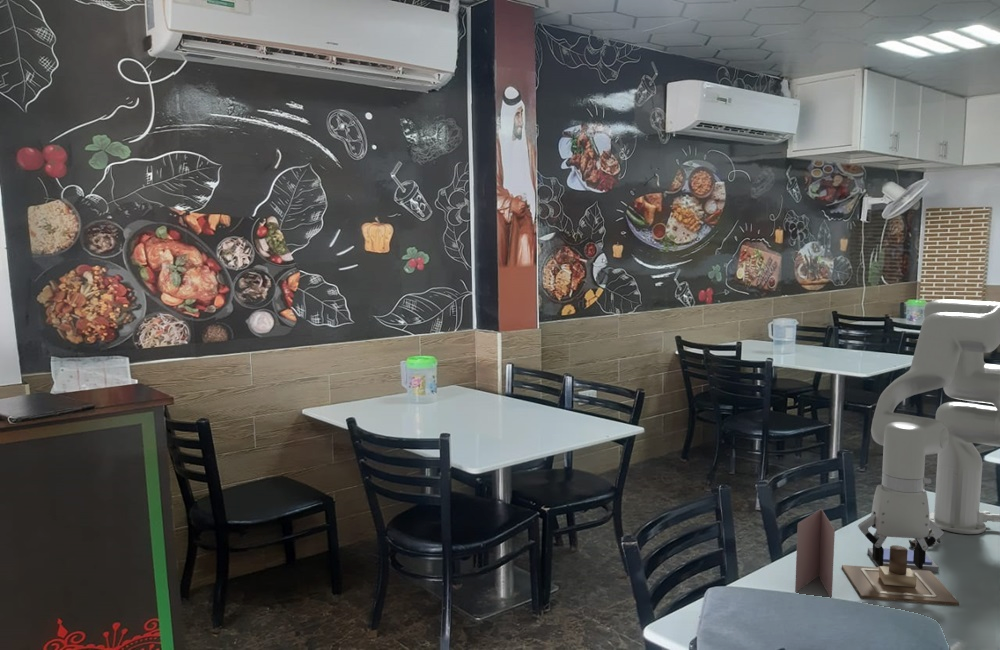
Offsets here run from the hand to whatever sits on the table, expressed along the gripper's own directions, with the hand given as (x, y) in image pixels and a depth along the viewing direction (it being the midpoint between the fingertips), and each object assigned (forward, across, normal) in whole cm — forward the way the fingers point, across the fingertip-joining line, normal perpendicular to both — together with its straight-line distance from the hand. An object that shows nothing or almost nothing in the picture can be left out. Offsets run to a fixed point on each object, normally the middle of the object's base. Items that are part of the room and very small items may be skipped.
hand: (898, 564), depth 149 cm
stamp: (+4, 0, 0) cm, 4 cm away
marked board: (+5, 0, 0) cm, 5 cm away
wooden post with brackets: (+5, -13, -23) cm, 27 cm away
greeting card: (+5, +16, +4) cm, 17 cm away
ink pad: (+5, -5, -12) cm, 14 cm away
